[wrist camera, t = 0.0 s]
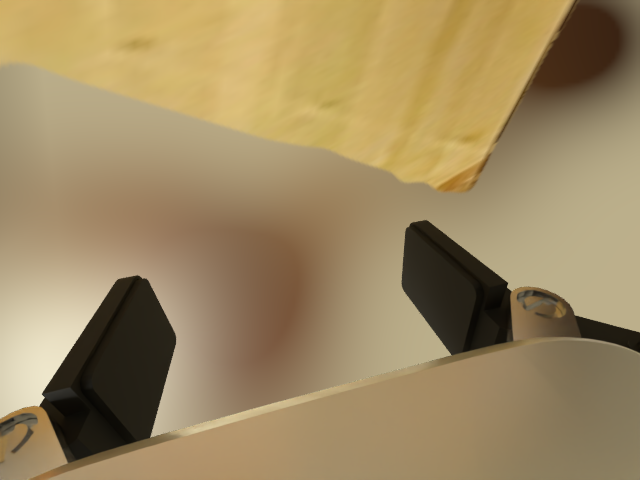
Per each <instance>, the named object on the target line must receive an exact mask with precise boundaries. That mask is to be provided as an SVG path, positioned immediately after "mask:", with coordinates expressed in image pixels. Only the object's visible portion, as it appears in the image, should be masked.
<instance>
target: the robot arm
mask: <svg viewBox="0 0 640 480" xmlns="http://www.w3.org/2000/svg"><path fill="white" fill-rule="evenodd" d="M507 285H508V283H507V282H506V281H505V280H503V279H502V278H501V277H500V276H498V275H497V274H496V273H495V272H493V271H492V270H491V269H489V268H488V267H487V266H485V265H484V264H483V263H482V262H480V261H479V260H478V259H476V258H475V257H474V256H473V255H471V254H470V253H469V252H467V251H466V250H465V249H463V248H462V247H461V246H460V245H458V244H457V243H456V242H454V241H453V240H452V239H450V238H449V237H448V236H447V235H445V234H444V233H443V232H442V231H440V230H439V229H438V228H436V227H435V226H434V225H432V224H431V223H430V222H429V221H427V220H424V221H418V222H413V223H411V224H410V226H409V227H408V228H406V232H405V245H404V257H403V271H402V287H403V290H404V292H405V293H406V294H407V296H408V297H409V298H410V300H411V301H412V302H413V304H414V305H415V306H416V308H417V309H418V310H419V312H420V313H421V314H422V316H423V317H424V318H425V320H426V321H427V322H428V324H429V325H430V327H431V328H432V329H433V331H434V332H435V333H436V335H437V336H438V337H439V338H440V340H441V341H442V343H443V344H444V345H445V347H446V348H447V349H448V351H449V352H450V353H451V355H452V356H448V357H444V358H440V359H436V360H432V361H429V362H425V363H421V364H418V365H414V366H410V367H407V368H403V369H399V370H395V371H392V372H388V373H384V374H380V375H376V376H372V377H369V378H365V379H361V380H357V381H354V382H350V383H346V384H343V385H339V386H335V387H332V388H328V389H324V390H321V391H317V392H313V393H309V394H306V395H302V396H298V397H295V398H291V399H288V400H284V401H280V402H276V403H273V404H269V405H266V406H262V407H258V408H255V409H251V410H247V411H244V412H240V413H237V414H233V415H229V416H226V417H222V418H219V419H215V420H211V421H208V422H204V423H201V424H197V425H194V426H190V427H186V428H183V429H179V430H176V431H172V432H168V433H165V434H161V435H158V436H155V437H151V438H150V436H151V433H152V429H153V425H154V421H155V418H156V414H157V411H158V407H159V403H160V400H161V396H162V393H163V389H164V385H165V382H166V378H167V374H168V370H169V367H170V363H171V360H172V356H173V352H174V349H175V345H176V335H175V333H174V331H173V328H172V326H171V324H170V323H169V321H168V319H167V317H166V315H165V313H164V311H163V309H162V307H161V305H160V303H159V301H158V299H157V297H156V295H155V293H154V291H153V289H152V288H151V286H150V283H149V281H148V280H147V279H142V278H141V277H140V276H132V277H126V278H121V279H118V280H117V281H116V282H115V284H114V285H113V287H112V288H111V290H110V291H109V293H108V294H107V296H106V297H105V299H104V300H103V302H102V303H101V305H100V306H99V308H98V310H97V311H96V313H95V314H94V316H93V317H92V319H91V320H90V322H89V323H88V325H87V326H86V328H85V329H84V331H83V332H82V334H81V335H80V337H79V338H78V340H77V341H76V343H75V344H74V346H73V347H72V349H71V351H70V352H69V353H68V355H67V357H66V358H65V360H64V361H63V363H62V364H61V366H60V367H59V369H58V370H57V372H56V373H55V375H54V376H53V378H52V379H51V381H50V382H49V384H48V385H47V387H46V388H45V390H44V391H43V393H42V395H43V396H44V397H45V398H44V400H43V401H42V403H41V404H40V406H39V407H38V406H31V407H25V408H22V409H19V410H17V411H14V412H12V413H10V414H8V415H6V416H5V417H3V418H1V419H0V480H640V333H639V332H636V331H632V330H628V329H624V328H621V327H616V326H613V325H609V324H605V323H601V322H598V321H594V320H590V319H586V318H583V317H579V316H575V315H574V311H573V309H572V308H571V306H570V304H569V303H568V302H566V301H565V300H564V299H563V298H561V297H560V296H558V295H556V294H554V293H552V292H550V291H548V290H544V289H541V288H536V287H520V288H517V289H515V290H513V291H510V290H509V289H508V288H507Z"/></svg>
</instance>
